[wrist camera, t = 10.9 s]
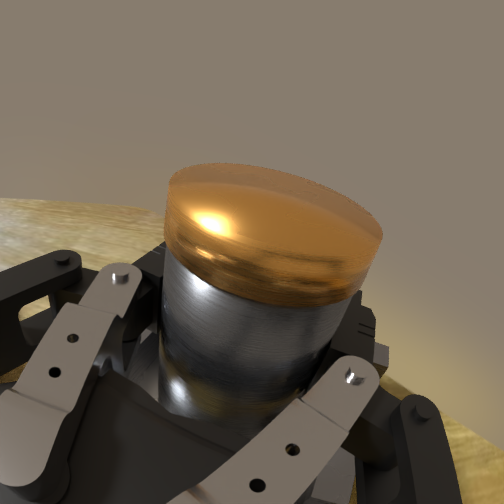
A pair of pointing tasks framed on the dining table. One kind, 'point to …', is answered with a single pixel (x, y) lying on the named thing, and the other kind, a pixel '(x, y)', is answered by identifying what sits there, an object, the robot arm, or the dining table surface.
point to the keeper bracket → (342, 462)
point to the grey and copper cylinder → (253, 289)
